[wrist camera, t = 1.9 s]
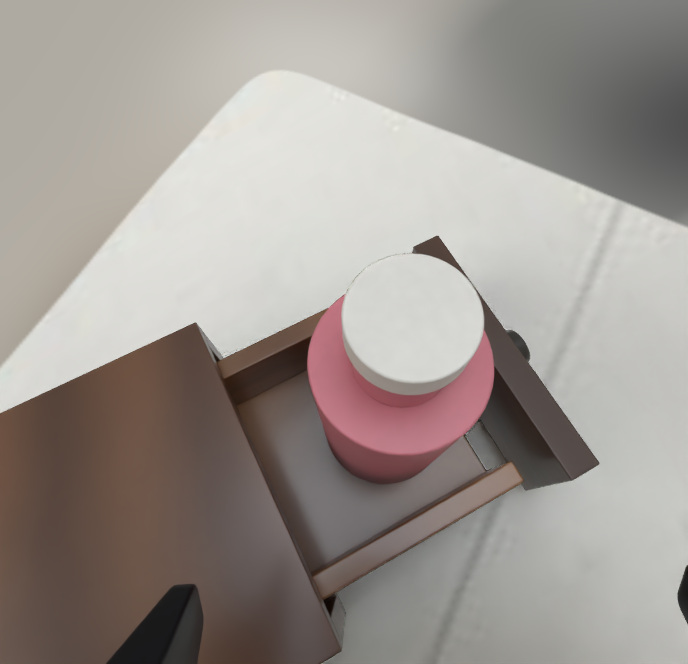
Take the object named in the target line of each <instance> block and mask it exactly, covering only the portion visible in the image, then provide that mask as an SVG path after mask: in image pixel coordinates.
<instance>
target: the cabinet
mask: <svg viewBox="0 0 688 664" xmlns="http://www.w3.org/2000/svg"><path fill="white" fill-rule="evenodd" d="M222 359H224V358H223V357H222V355H221V354H220V353H219V352H218V350H217V349H216V348H215V346H214V345H213V344H212V343H211V341H210V340H209V339H208V337H207V336H206V335H205V334H204V332H203V331H202V330H201V328H200V327H199V326H198V325H197V323H193V324H191V325H189V326H187V327H185V328H182V329H180V330H178V331H176V332H174V333H172V334H170V335H167V336H165V337H163V338H161V339H159V340H157V341H155V342H152V343H150V344H148V345H146V346H144V347H142V348H140V349H137V350H135V351H133V352H131V353H129V354H127V355H125V356H122V357H120V358H118V359H116V360H114V361H112V362H110V363H107V364H105V365H103V366H101V367H99V368H97V369H95V370H92V371H90V372H88V373H86V374H84V375H82V376H79V377H77V378H75V379H73V380H71V381H69V382H67V383H64V384H62V385H60V386H58V387H56V388H54V389H52V390H49V391H47V392H45V393H43V394H41V395H39V396H37V397H34V398H32V399H30V400H28V401H26V402H24V403H22V404H19V405H17V406H15V407H13V408H11V409H9V410H7V411H4V412H2V413H0V664H106V663H107V662H108V660H109V659H110V658H111V657H112V656H113V655H114V653H115V652H116V651H117V650H118V649H119V648H120V646H121V645H122V644H123V643H124V642H125V641H126V639H127V638H128V637H129V636H130V635H131V633H132V632H133V631H134V630H135V629H136V628H137V626H138V625H139V624H140V623H141V622H142V621H143V619H144V618H145V617H146V616H147V615H148V614H149V612H150V611H151V610H152V609H153V608H154V606H155V605H156V604H157V603H158V602H159V601H160V599H161V598H162V597H163V596H164V595H165V594H166V592H167V591H168V590H169V589H170V588H171V587H172V586H174V585H177V584H195V585H196V586H197V588H198V592H199V596H200V601H201V606H202V610H203V616H204V624H203V632H202V638H201V644H200V650H199V656H198V662H197V664H321V663H323V662H324V661H326V660H328V659H329V658H331V657H333V656H334V655H336V654H338V653H339V652H341V650H342V641H343V632H344V623H345V615H346V612H345V610H344V608H343V605H342V603H341V601H340V599H339V597H338V594H337V592H336V593H334V594H333V595H331V596H329V597H328V598H326V599H324V600H322V597H321V595H320V593H319V591H318V588H317V586H316V584H315V582H314V580H313V577H312V575H311V573H310V571H309V568H308V566H307V564H306V562H305V559H304V557H303V555H302V553H301V550H300V548H299V546H298V544H297V542H296V539H295V537H294V535H293V533H292V530H291V528H290V526H289V524H288V521H287V519H286V517H285V515H284V512H283V510H282V508H281V506H280V503H279V501H278V499H277V497H276V495H275V492H274V490H273V488H272V486H271V483H270V481H269V479H268V477H267V474H266V472H265V470H264V468H263V465H262V463H261V461H260V459H259V457H258V454H257V452H256V450H255V448H254V445H253V443H252V441H251V439H250V436H249V434H248V432H247V430H246V427H245V425H244V423H243V421H242V418H241V416H240V414H239V412H238V410H237V407H236V405H235V403H234V401H233V398H232V396H231V394H230V392H229V389H228V387H227V385H226V383H225V380H224V378H223V376H222V374H221V372H220V369H219V367H218V365H217V363H216V362H218V361H220V360H222Z"/></svg>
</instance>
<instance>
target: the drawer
mask: <svg viewBox="0 0 688 664" xmlns="http://www.w3.org/2000/svg"><path fill="white" fill-rule="evenodd" d="M412 253H413V254H423V255H428V256H432V257H435V258H438V259H440V260H442V261H445V262H447V263H448V264H450V265H452V266H453V267H455V268H456V269H457V270H459V271H460V272H461V273H462V274H463V275H464V276H465V277H466V278H467V279H468V277H467V276H466V274H465V273H464V271H463V270H462V269H461V267H460V266H459V264H458V263H457V262H456V260H455V259H454V257H453V256H452V255H451V253H450V252H449V250H448V249H447V248H446V246H445V245H444V243H443V242H442V240H441V239H440V238H439V236H435V237H433V238H431V239H429V240H427V241H425V242H423V243H421V244H419V245H417V246H414V247H413V252H412ZM468 280H469V279H468ZM469 281H470V280H469ZM470 283H471V281H470ZM471 284H472V283H471ZM472 285H473V284H472ZM473 287H474V286H473ZM474 289H475V290H476V288H475V287H474ZM476 292H477V294H478V296H479V298H480V301H481V304H482V307H483V313H484V331H485V333H486V335H487V337H488V340H489V342H490V346H491V349H492V353H493V360H494V381H493V388H492V392H491V395H490V399H489V401H488V403H487V405H486V408H485V410H484V411H483V413H482V415H481V416H480V420H481V421H482V423H483V424H484V426H485V428H486V429H487V431H488V432H489V434H490V435H491V437H492V439H493V440H494V442H495V443H496V445H497V446H498V448H499V450H500V451H501V453H502V454H503V456H504V457H505V459H506V461H507V463H504V464H502V465H500V466H497V467H495V468H493V469H490V470H488V471H486V470H485V468H484V467H483V465H482V463H481V462H480V460H479V459H478V457H477V455H476V454H475V452H474V450H473V449H472V447H471V446H470V444H469V442H468V441H467V439H466V438H465V436H464V435H463V436H462V437H461V438H460V439H459V440H457V441H456V442H455V443H454V444H453V445H452V446H450V447H449V448H448V449H447V450H446V451H444V452H443V453H442V454H441V455H440V456H439V457H437V458H436V459H435V460H434V461H433V462H432V463H430V464H429V465H428V466H427V467H426V468H425V469H423V470H422V471H421V472H420V473H418V474H417V475H415V476H414V477H412V478H410V479H408V480H405V481H402V482H399V483H393V484H377V483H372V482H368V481H365V480H362V479H360V478H358V477H356V476H354V475H353V474H351V473H350V472H349V471H347V470H346V469H345V468H344V467H343V466H342V465H341V464H340V463H339V462H338V460H337V459H336V458H335V456H334V454H333V453H332V451H331V449H330V446H329V444H328V441H327V438H326V435H325V431H324V428H323V425H322V422H321V419H320V416H319V413H318V409H317V406H316V403H315V400H314V397H313V394H312V390H311V387H310V383H309V378H308V370H307V357H308V350H309V345H310V342H311V338H312V335H313V333H314V330H315V328H316V326H317V324H318V323H319V321H320V319H321V318H322V316H323V315H324V314H325V312H326V311H327V310H328V309H329V308H327V309H325V310H323V311H321V312H319V313H317V314H315V315H313V316H311V317H309V318H307V319H304V320H302V321H300V322H298V323H296V324H294V325H292V326H290V327H288V328H286V329H284V330H282V331H280V332H278V333H276V334H273V335H271V336H269V337H267V338H265V339H263V340H261V341H259V342H257V343H255V344H253V345H251V346H249V347H247V348H244V349H242V350H240V351H238V352H236V353H234V354H232V355H230V356H228V357H226V358H224V359H222V360H220V361H218V362H216V363H217V365H218V367H219V369H220V372H221V374H222V376H223V378H224V380H225V383H226V385H227V387H228V389H229V392H230V394H231V396H232V398H233V401H234V403H235V405H236V407H237V410H238V412H239V414H240V416H241V418H242V421H243V423H244V425H245V427H246V430H247V432H248V434H249V436H250V439H251V441H252V443H253V445H254V448H255V450H256V452H257V454H258V457H259V459H260V461H261V463H262V465H263V468H264V470H265V472H266V474H267V477H268V479H269V481H270V483H271V486H272V488H273V490H274V492H275V495H276V497H277V499H278V501H279V503H280V506H281V508H282V510H283V512H284V515H285V517H286V519H287V521H288V524H289V526H290V528H291V530H292V533H293V535H294V537H295V539H296V542H297V544H298V546H299V548H300V550H301V553H302V555H303V557H304V559H305V562H306V564H307V566H308V568H309V571H310V573H311V575H312V577H313V580H314V582H315V584H316V586H317V588H318V591H319V593H320V595H321V597H322V600H324V599H326V598H328V597H329V596H331V595H333V594H334V593H336V592H338V591H339V590H341V589H343V588H345V587H346V586H348V585H350V584H351V583H353V582H355V581H356V580H358V579H360V578H362V577H363V576H365V575H367V574H368V573H370V572H372V571H373V570H375V569H377V568H379V567H380V566H382V565H384V564H385V563H387V562H389V561H390V560H392V559H394V558H396V557H397V556H399V555H401V554H402V553H404V552H406V551H407V550H409V549H411V548H413V547H414V546H416V545H418V544H419V543H421V542H423V541H424V540H426V539H428V538H430V537H431V536H433V535H435V534H436V533H438V532H440V531H441V530H443V529H445V528H447V527H448V526H450V525H452V524H453V523H455V522H457V521H458V520H460V519H462V518H463V517H465V516H467V515H469V514H470V513H472V512H474V511H475V510H477V509H479V508H480V507H482V506H484V505H486V504H487V503H489V502H491V501H492V500H494V499H496V498H497V497H499V496H501V495H503V494H504V493H506V492H508V491H509V490H511V489H513V488H514V487H516V486H518V485H520V484H522V486H523V487H524V489H525V490H531V489H535V488H540V487H544V486H549V485H553V484H558V483H563V482H567V481H572V480H574V479H576V478H577V477H579V476H581V475H582V474H584V473H586V472H587V471H589V470H591V469H592V468H594V467H596V466H597V465H599V462H598V460H597V459H596V458H595V456H594V455H593V453H592V452H591V451H590V449H589V448H588V446H587V445H586V443H585V442H584V441H583V439H582V438H581V436H580V435H579V434H578V432H577V431H576V429H575V428H574V427H573V425H572V424H571V422H570V421H569V420H568V418H567V417H566V415H565V414H564V412H563V411H562V410H561V408H560V407H559V405H558V404H557V403H556V401H555V400H554V398H553V397H552V396H551V394H550V393H549V391H548V390H547V389H546V387H545V386H544V384H543V383H542V381H541V380H540V379H539V377H538V376H537V374H536V373H535V372H534V370H533V369H532V367H531V366H530V365H529V363H528V361H529V360H530V353H529V350H528V347H527V345H526V343H525V342H524V340H523V339H522V337H521V336H520V335H519V334H518V333H516V332H515V331H513V330H507V331H505V329H504V328H503V326H502V325H501V324H500V322H499V321H498V319H497V318H496V317H495V315H494V314H493V312H492V311H491V310H490V308H489V307H488V305H487V304H486V302H485V301H484V300H483V298H482V297H481V295H480V294H479V293H478V291H477V290H476Z"/></svg>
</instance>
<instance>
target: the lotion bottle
mask: <svg viewBox="0 0 688 664" xmlns="http://www.w3.org/2000/svg"><path fill="white" fill-rule="evenodd" d="M307 370H308V378H309V383H310V387H311V390H312V394H313V397H314V400H315V403H316V406H317V409H318V413H319V416H320V419H321V422H322V425H323V428H324V431H325V435H326V438H327V441H328V444H329V446H330V449H331V451H332V453H333V454H334V456H335V458H336V459H337V460H338V462H339V463H340V464H341V465H342V466H343V467H344V468H345V469H346V470H347V471H349V472H350V473H351V474H353V475H354V476H356V477H358V478H360V479H362V480H365V481H368V482H372V483H377V484H393V483H399V482H402V481H405V480H408V479H410V478H412V477H414V476H415V475H417V474H418V473H420V472H421V471H422V470H423V469H425V468H426V467H427V466H428V465H429V464H430V463H432V462H433V461H434V460H435V459H436V458H437V457H439V456H440V455H441V454H442V453H443V452H444V451H446V450H447V449H448V448H449V447H450V446H452V445H453V444H454V443H455V442H456V441H457V440H459V439H460V438H461V437H462V436H463V435H464V434H465V433H467V432H468V431H469V430H470V429H471V428H472V427H473V425H474V424H475V423H476V422H477V421H478V419H479V418H480V416H481V415H482V413H483V411H484V410H485V408H486V405H487V403H488V401H489V399H490V395H491V392H492V388H493V381H494V360H493V353H492V349H491V346H490V342H489V340H488V337H487V335H486V333H485V331H484V313H483V307H482V304H481V301H480V298H479V296H478V294H477V292H476V290H475V289H474V287H473V285H472V284H471V283H470V281H469V280H468V279H467V278H466V277H465V276H464V275H463V274H462V273H461V272H460V271H459V270H457V269H456V268H455V267H453V266H452V265H450V264H448V263H447V262H445V261H442V260H440V259H438V258H435V257H432V256H428V255H423V254H413V253H409V254H398V255H392V256H389V257H385V258H383V259H380V260H378V261H376V262H374V263H373V264H371V265H369V266H368V267H367V268H365V269H364V270H363V271H362V272H361V273H360V274H359V275H357V277H356V278H355V279H354V280H353V282H352V283H351V285H350V286H349V288H348V290H347V292H346V294H345V295H343V296H342V297H341V298H339V299H338V300H337V301H336V302H335V303H334V304H333V305H331V306H330V307H329V309H328V310H327V311H326V312H325V314H324V315H323V316H322V318H321V319H320V321H319V323H318V324H317V326H316V328H315V330H314V333H313V335H312V338H311V342H310V345H309V350H308V357H307Z"/></svg>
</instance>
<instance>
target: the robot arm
mask: <svg viewBox="0 0 688 664" xmlns="http://www.w3.org/2000/svg"><path fill="white" fill-rule="evenodd" d="M678 603H679V607H680V609H681V611H682V613H683V615H684V617H685V620H686V622H687V624H688V565H687V567H686V569H685V572H684V575H683V578H682V581H681V584H680V587H679V590H678ZM203 624H204V616H203V610H202V606H201V601H200V596H199V592H198V588H197V586H196V585H195V584H177V585H174V586H172V587H171V588H170V589H169V590H168V591H167V592H166V594H165V595H164V596H163V597H162V598H161V599H160V601H159V602H158V603H157V604H156V605H155V606H154V608H153V609H152V610H151V611H150V612H149V614H148V615H147V616H146V617H145V618H144V619H143V621H142V622H141V623H140V624H139V625H138V626H137V628H136V629H135V630H134V631H133V632H132V633H131V635H130V636H129V637H128V638H127V639H126V641H125V642H124V643H123V644H122V645H121V646H120V648H119V649H118V650H117V651H116V652H115V653H114V655H113V656H112V657H111V658H110V659H109V660H108V662H107V663H106V664H197V662H198V656H199V650H200V644H201V638H202V632H203Z"/></svg>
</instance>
